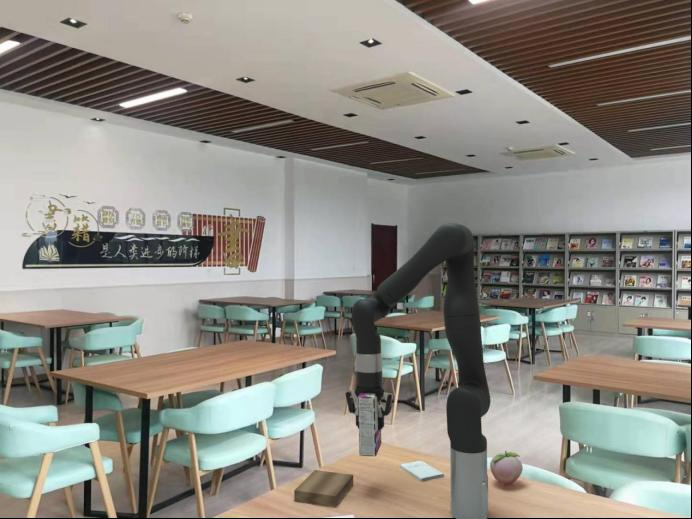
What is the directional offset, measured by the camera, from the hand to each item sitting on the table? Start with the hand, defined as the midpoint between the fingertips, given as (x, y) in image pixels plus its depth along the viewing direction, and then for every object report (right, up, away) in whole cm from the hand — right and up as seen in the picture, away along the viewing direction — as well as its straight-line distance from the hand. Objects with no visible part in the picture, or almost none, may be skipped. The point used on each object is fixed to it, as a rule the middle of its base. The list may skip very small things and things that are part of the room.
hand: (370, 428), depth 153 cm
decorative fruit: (+40, -18, +4) cm, 44 cm away
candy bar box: (0, -6, 0) cm, 6 cm away
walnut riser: (-13, -18, 0) cm, 22 cm away
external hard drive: (+17, -19, +14) cm, 29 cm away
